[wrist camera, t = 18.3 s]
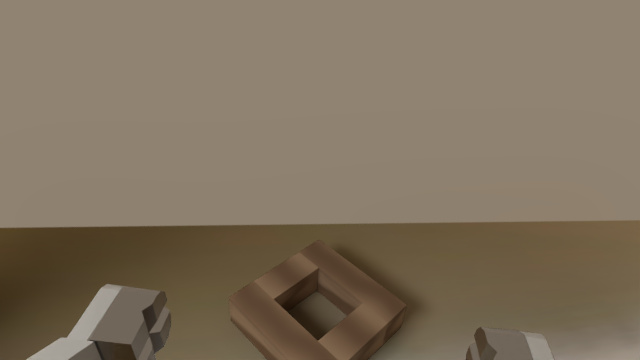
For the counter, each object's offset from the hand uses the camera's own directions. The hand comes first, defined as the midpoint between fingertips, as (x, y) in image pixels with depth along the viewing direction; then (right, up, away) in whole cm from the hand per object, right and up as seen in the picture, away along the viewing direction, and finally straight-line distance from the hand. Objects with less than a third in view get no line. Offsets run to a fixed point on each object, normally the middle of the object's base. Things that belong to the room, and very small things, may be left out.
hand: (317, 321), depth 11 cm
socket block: (0, -13, +37) cm, 39 cm away
